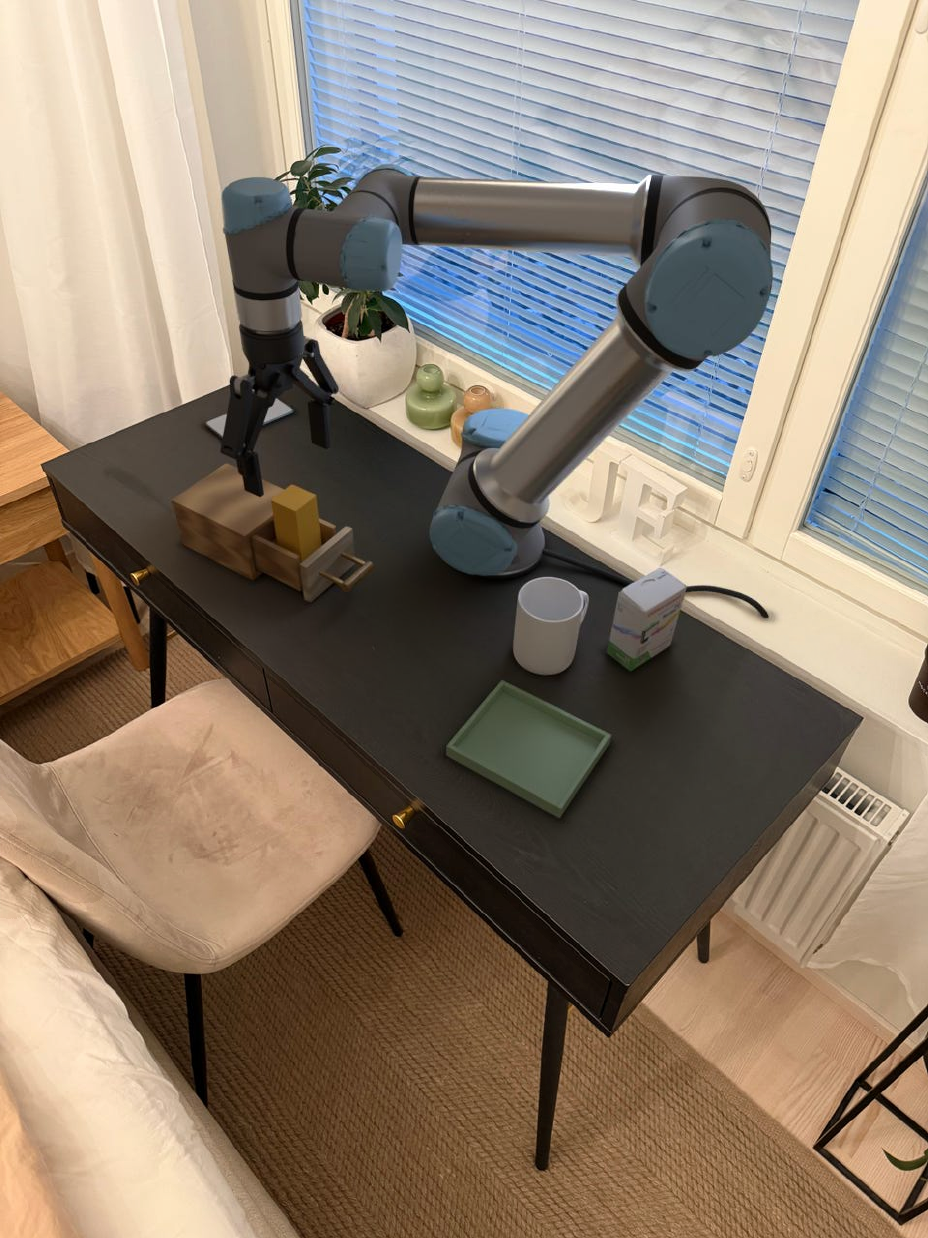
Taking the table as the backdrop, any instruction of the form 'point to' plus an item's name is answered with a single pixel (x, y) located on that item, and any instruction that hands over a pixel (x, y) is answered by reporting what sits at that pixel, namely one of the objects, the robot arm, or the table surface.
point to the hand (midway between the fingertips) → (288, 468)
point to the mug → (548, 624)
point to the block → (297, 521)
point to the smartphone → (273, 413)
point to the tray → (529, 747)
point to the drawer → (309, 560)
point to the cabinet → (224, 518)
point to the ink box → (645, 618)
